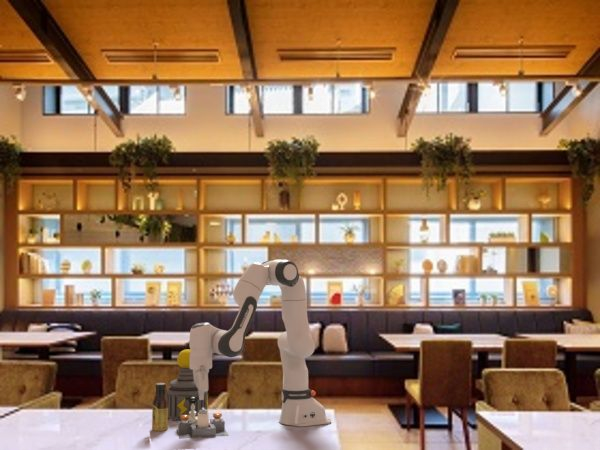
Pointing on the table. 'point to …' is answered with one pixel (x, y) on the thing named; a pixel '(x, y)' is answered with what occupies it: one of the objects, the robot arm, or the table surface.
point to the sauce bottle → (160, 409)
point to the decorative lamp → (184, 390)
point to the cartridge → (203, 419)
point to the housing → (201, 429)
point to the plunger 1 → (184, 418)
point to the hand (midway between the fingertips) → (201, 399)
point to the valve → (192, 408)
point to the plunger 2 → (217, 416)
